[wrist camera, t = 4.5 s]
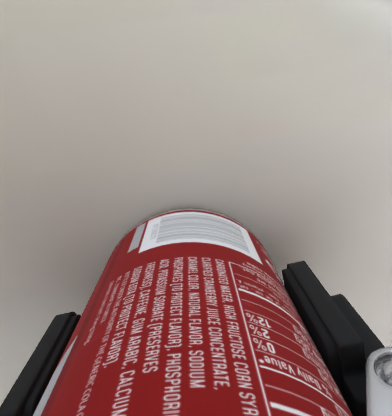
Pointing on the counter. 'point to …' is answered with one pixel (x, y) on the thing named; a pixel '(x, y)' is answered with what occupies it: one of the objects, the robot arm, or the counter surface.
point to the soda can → (191, 331)
